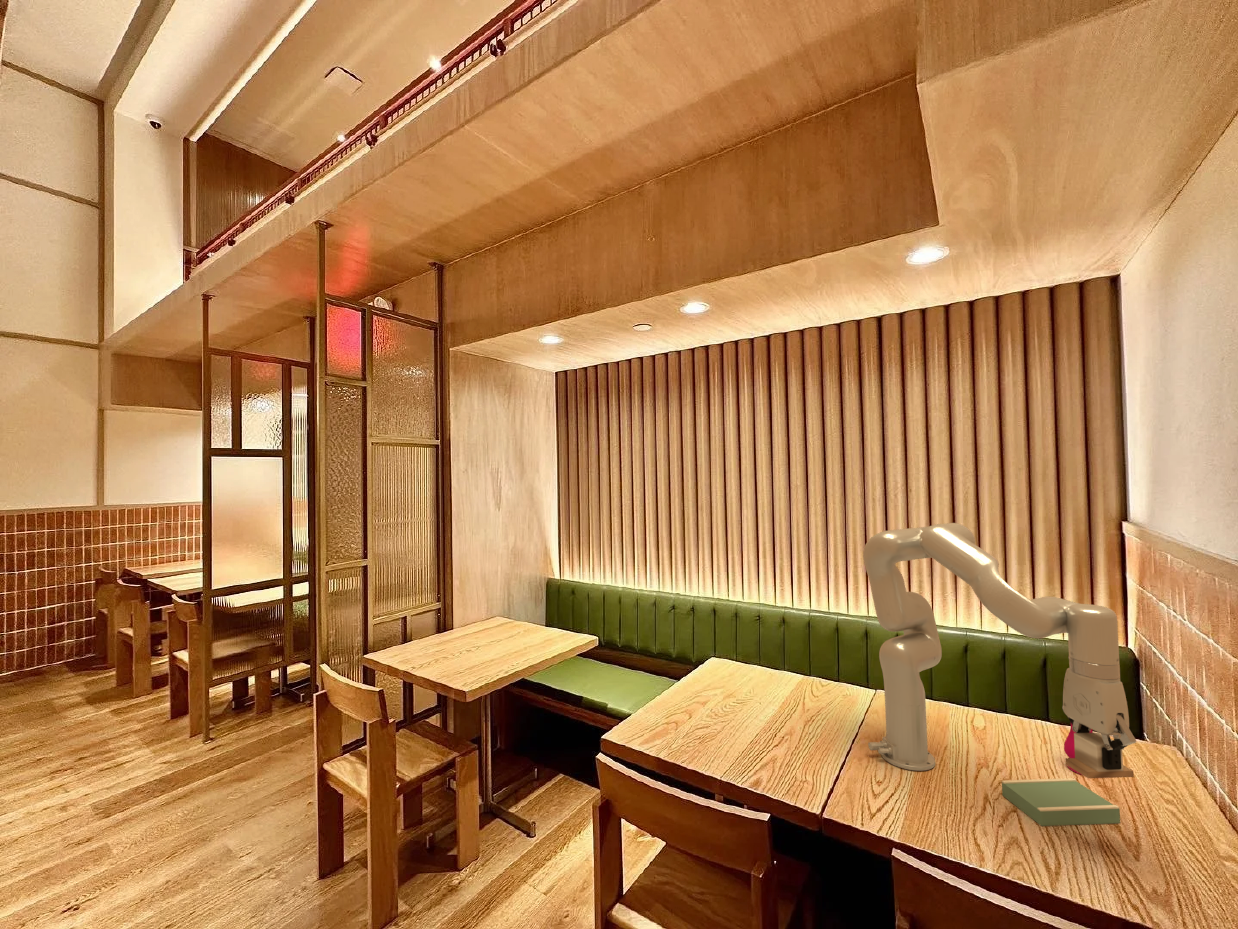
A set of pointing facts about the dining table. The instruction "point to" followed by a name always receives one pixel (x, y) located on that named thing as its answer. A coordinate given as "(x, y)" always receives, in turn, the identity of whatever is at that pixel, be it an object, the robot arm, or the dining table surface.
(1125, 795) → the dining table surface
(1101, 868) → the dining table surface
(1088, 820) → the dock
